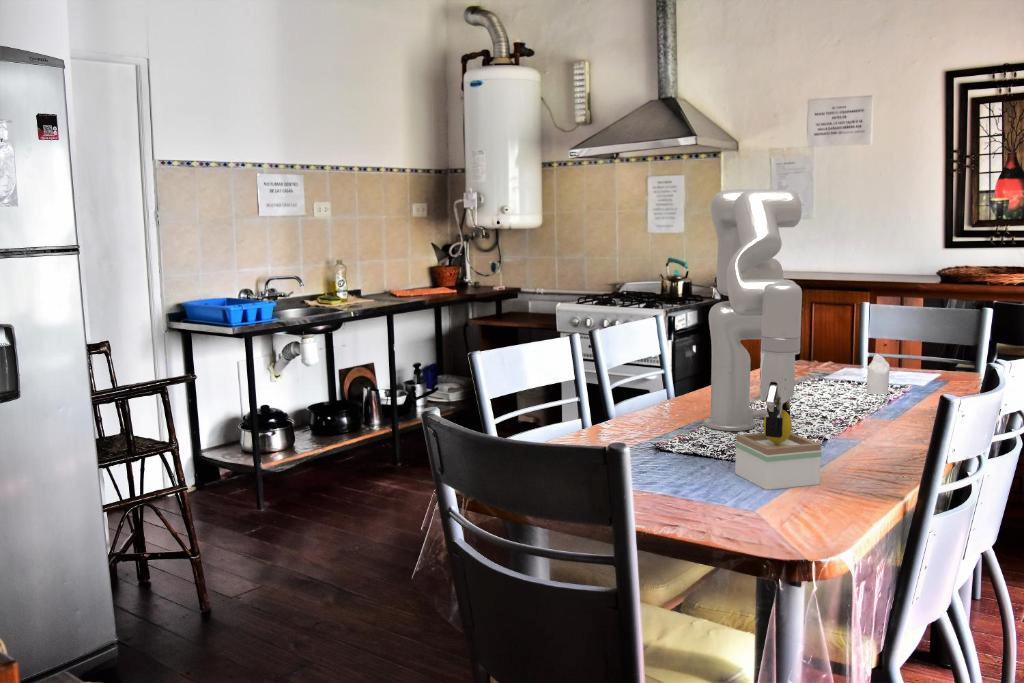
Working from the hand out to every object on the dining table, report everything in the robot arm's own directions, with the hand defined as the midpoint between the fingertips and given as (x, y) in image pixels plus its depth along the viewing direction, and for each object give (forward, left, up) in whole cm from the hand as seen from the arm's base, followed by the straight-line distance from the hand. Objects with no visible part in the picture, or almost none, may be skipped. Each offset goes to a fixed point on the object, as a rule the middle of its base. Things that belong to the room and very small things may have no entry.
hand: (777, 432), depth 190 cm
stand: (0, 0, -10) cm, 10 cm away
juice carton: (-42, -68, -10) cm, 80 cm away
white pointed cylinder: (-74, -65, -10) cm, 99 cm away
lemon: (0, 0, -3) cm, 3 cm away
